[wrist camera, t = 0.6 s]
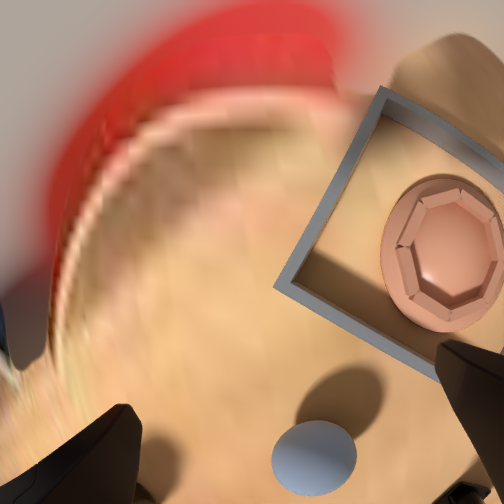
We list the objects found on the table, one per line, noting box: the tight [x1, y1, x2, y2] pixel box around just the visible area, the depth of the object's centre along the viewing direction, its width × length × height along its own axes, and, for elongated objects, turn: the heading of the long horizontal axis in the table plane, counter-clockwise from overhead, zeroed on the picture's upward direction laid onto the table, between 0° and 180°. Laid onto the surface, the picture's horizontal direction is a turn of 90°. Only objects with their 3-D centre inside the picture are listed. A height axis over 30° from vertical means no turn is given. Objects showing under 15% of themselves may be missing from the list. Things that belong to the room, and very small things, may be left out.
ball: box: [271, 420, 357, 496], centre depth 17 cm, size 6×6×6 cm
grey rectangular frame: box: [273, 86, 504, 384], centre depth 17 cm, size 20×16×2 cm
